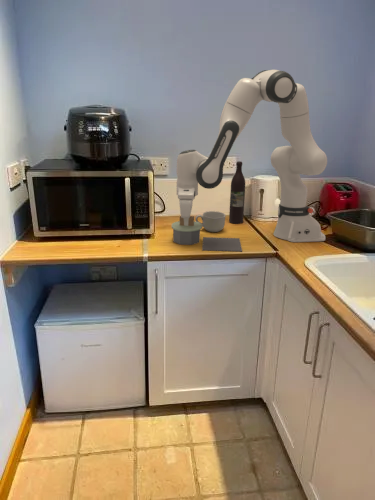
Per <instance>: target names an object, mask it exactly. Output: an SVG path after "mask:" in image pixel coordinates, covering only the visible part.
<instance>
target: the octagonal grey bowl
mask: <svg viewBox="0 0 375 500" xmlns="http://www.w3.org/2000/svg"><path fill="white" fill-rule="evenodd" d="M172 231H173V232H172V233H173V234H172V236H173V237H172V239H173V240H172V242H173V243H175V244H178V245H184V246H186V245H187V246H192V245H196V244H198V243H199V244H200V241H201V229H200V230H198V231H192V232H183V231H177V230H174V229H172Z"/></svg>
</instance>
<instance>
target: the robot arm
mask: <svg viewBox="0 0 375 500" xmlns="http://www.w3.org/2000/svg"><path fill="white" fill-rule="evenodd" d="M261 101H264V102H265V101H266V102H269V103H270V102H274V103H276V104H278V107H279V116H280V117H279V118H280V126H281V127H280V128H281V135H282V137H283V138H284V139H285V140H286V141H287V142H288V143H289V144H290V145H284V146H282V145H281V146H277V147H275V149H273V151H272V152H271V155H270V162H271V163H270V164H271V166H272V167H273V168H274V170H275V171H276V174H277V175H278V177H279V182H280V200H279V201H280V202H279V204H278V208H277V209H278V210H277V222H276V226H275V229H274V232H273V233H272V234H273V235H274V237H276V238H279V239H281V240H285V241H288V242H290V243H307V242H308V243H309V242H311V243H312V242H324V241H326V235H325V234H324V233H323V232H322V228H321V225H320V223H319V221H317V220H316V219H315V217H313V216H312V215H310V214H313V212H314V210H313V209H312V208H311V207H310V206H308V205H307V202H308V201H307V199H308V191H309V190H308V186H307V185H306V184H305V183H304V182H303V180H302V179H301V175H303V176H316V175H317V176H318V175H321V174H322V173H323V172H324V171H325V170H326V167H327V165H328V157H327V154H326V152H325V151H323V149H321V148H320V147H319V146H318V144H317V142H316V140H315V139H314V137H313V133H312V130H311V124H310V121H311V120H310V108H309V100H308V94H307V91H306V88H305V87H304V85H303V84H301V83H297V82H295V80H294V78H293V76H292V75H291V74H290V73H288V72H287V71H285V70H278V69H270V70H268V69H266V70H262V71H261V70H260V71H259V72H258V73H256V74H255V75H254V76H253V77H252V78H249V77H242V78H241V79H239V80H238V81H237V83H236V84H235V85H234V87H233V88H232V90H231V91H230V94H229V95H228V97H227V99H226V101H225V103H224V106H223V109H222V111H221V115H220V117H219V118H220V119H219V129H218V130H219V131H218V134H217V135H218V136H217V138H216V141H215V142H214V145H213V147H212V149H211V151H210V153H209V156H208V157H207V156H205V155H204V154H202V153H200V152H199V151H198V150H196V149H187V150H183V151H181V152H180V153H179V154H178V155H177V158H176V176H177V179H176V196H177V199H178V200H179V211H180V216H181V217H182V218H184V225H185V226H188V224H189V218H190V216H191V215H192V210H193V202H194V200H195V198H196V196H198V194H199V186H200V187H202V188H204V189H209V190H210V189H211V190H212V189H215V188H217V187H218V186H220V184H221V183H222V181H223V177H224V166H225V163H226V161H227V158H228V156H229V154H230V152H231V150H232V147H233V146H234V143H235V142H236V140H237V139H238V138H239V136H240V134H242V132H243V131H244V129H245V128H246V126H247V124H248V123H249V121H250V120H251V118H252V115H253V114H254V111H255V109H256V107H257V106H258V104H259V103H260V102H261Z"/></svg>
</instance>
